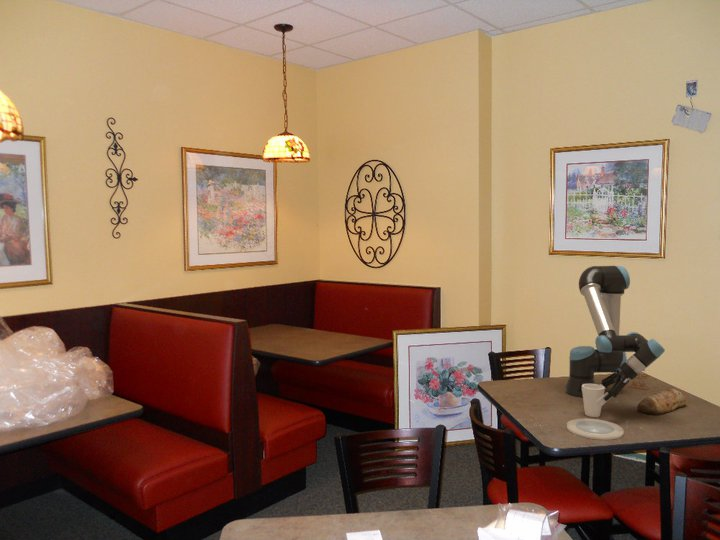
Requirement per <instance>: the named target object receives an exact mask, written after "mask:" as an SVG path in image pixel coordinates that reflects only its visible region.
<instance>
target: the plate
mask: <svg viewBox="0 0 720 540" xmlns="http://www.w3.org/2000/svg"><path fill="white" fill-rule="evenodd" d="M566 429H567V430H568V432H569V433H571V434H573V435H575V436H578V437H582V438H584V439H591V440H597V441H610V440H617V439H620V438H622V437H623V436H624V432H625V431H624V428H622V426H621V425H619V424H616V423H615V422H612V421H611V422H610V421H607V420H604V419H596V418H586V417H585V418H574V419H571V420H569V421H568V422H566Z"/></svg>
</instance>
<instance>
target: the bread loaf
mask: <svg viewBox="0 0 720 540" xmlns="http://www.w3.org/2000/svg"><path fill="white" fill-rule="evenodd" d="M686 398H687V397H685V395H684V394H683V393H682V392H681V391H679V390H676V389H675V388H668V389H664V390H662V391H659V392H656V393H653V394H651V395H649V396H648V395H647V396H646V397H645V398H643V399H642V400H641V401H640V402H639V403H638V404H637V407H636V409H637V411H638V412H639V413H640V414H646V415H651V416H657V415H661V414H666V413H670V412H674V411H675V410H676V409H679V408H683V407H684V406H686V402H687V400H686Z"/></svg>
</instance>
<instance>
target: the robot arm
mask: <svg viewBox="0 0 720 540" xmlns="http://www.w3.org/2000/svg"><path fill="white" fill-rule="evenodd" d="M630 279H631V278H630V273H629V271H628V270H627V268H626V267H624V266H622V265H598V266H597V265H591V266H589V267H587V268H586V269H584V270H583V272H581V274H580V277H579V279H578V289H579V291H580V294H581V296H583V298H584V301H585V302H586V305H587V308H588V312H589V313H590V316H591V320H592V322H593V325H594V327H595V331H596V332H597V337H595V347H593V346H590V345H580V346H575V347H573V348H571V349H570V351H569V358H568V360H569V378H568V380H567V383H566V386H565V393H566V394H568V395H570V396H574V397H578V398H583V393H582V385H583V384H596V382H595V381H596V380H595V374H596V373H597V374H598V373H600V374H602V373H604V374H605V373H612V374H610V375H608V376H607V377H605V378H603V379H602V380H601V383H600V384H599V385H602V386H604V387H605V390H606V389H607V388H608V387H610V386H611V385H612V386H611V388H610V389H609V390H607V391H606V392H605V393H604V395H603V396H602V397H601V398H600V399H599V400H598V401H596V403H597V404H598V405H599V406H600V407H601V406H603V405H605V404H606V403H607V402H608V401H609V400H611V399H612V398H613V397H614V398H616V397H617V396H618V395H619V394H620V392H621V391H622V390H623V389H624V387H625V386H626V385H627V384H628V383H630V380H632V381H634V380H635V379H636V378H637V377H638V374H639V373H641V372H645V371H646V369H647V368H648V367H649V366H651V364H653V362H655V361H656V360H657V359H658V358H660V357H661V356H662V355H663V354H664V353H665V352H666V351H665V348H664V346H663V345H661V343H659V342H658V341H657V340H656V339H654V338H650V339H649V340H648V339H646V337H644V336H643V335H642V334H640V333H639V332H637V331H630V332H629V333H627V334H626V335H625V334H623V335H622V334H621V335H620V329H621V328H620V327H621V326H620V323H621V300H622V298H621V297H622V296H623V295H624V294H625V290H627V289H629V288H630V283H631V280H630ZM595 348H596V349H595ZM627 353H634V354H632V355H630V357H628V358H627ZM637 373H638V374H637ZM641 374H642V373H641ZM601 408H602V407H601Z"/></svg>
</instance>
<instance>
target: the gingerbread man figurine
mask: <svg viewBox="0 0 720 540" xmlns="http://www.w3.org/2000/svg"><path fill="white" fill-rule="evenodd" d="M637 374H638V376H637V377H636V378H634V379H633V380H632V383H630V384H629V385H628V388H630V389H631V388H632V389H637V390H643V391H648V389H649V388H650V387H649V386H646V384H645V381H644V380H648V375H647V373H645V371H642V372H641V373H637ZM641 374H642V375H641ZM643 374H644V375H645V376H644V375H643ZM640 375H641V376H640ZM636 380H638V381H637V382H636V383H635V381H636ZM640 380H641V381H640ZM641 382H642V383H641ZM638 383H639V384H638Z"/></svg>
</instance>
